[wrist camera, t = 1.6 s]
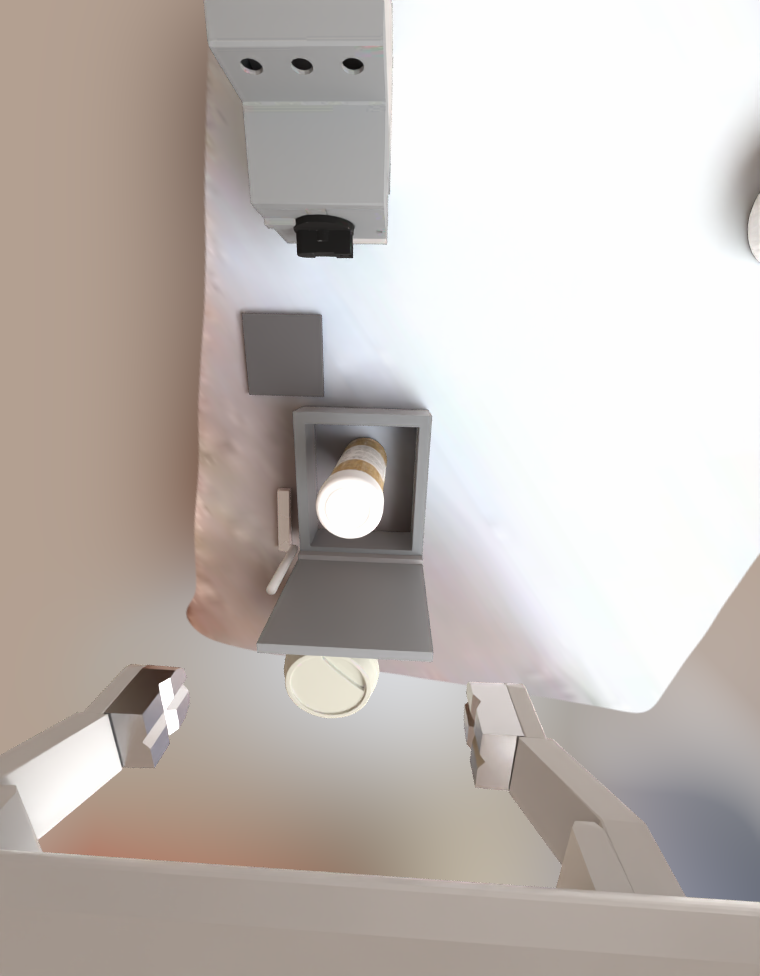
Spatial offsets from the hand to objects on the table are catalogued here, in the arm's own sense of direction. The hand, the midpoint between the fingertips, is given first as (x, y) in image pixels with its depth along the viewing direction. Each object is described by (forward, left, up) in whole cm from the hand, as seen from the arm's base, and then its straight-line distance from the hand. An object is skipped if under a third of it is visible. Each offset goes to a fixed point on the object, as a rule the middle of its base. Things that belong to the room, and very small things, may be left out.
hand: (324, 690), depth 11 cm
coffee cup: (+17, -3, -28) cm, 33 cm away
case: (+2, -1, -28) cm, 28 cm away
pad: (-9, -9, -28) cm, 30 cm away
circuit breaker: (-23, -3, -28) cm, 36 cm away
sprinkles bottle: (0, -1, -28) cm, 28 cm away
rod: (+7, -10, -28) cm, 31 cm away
